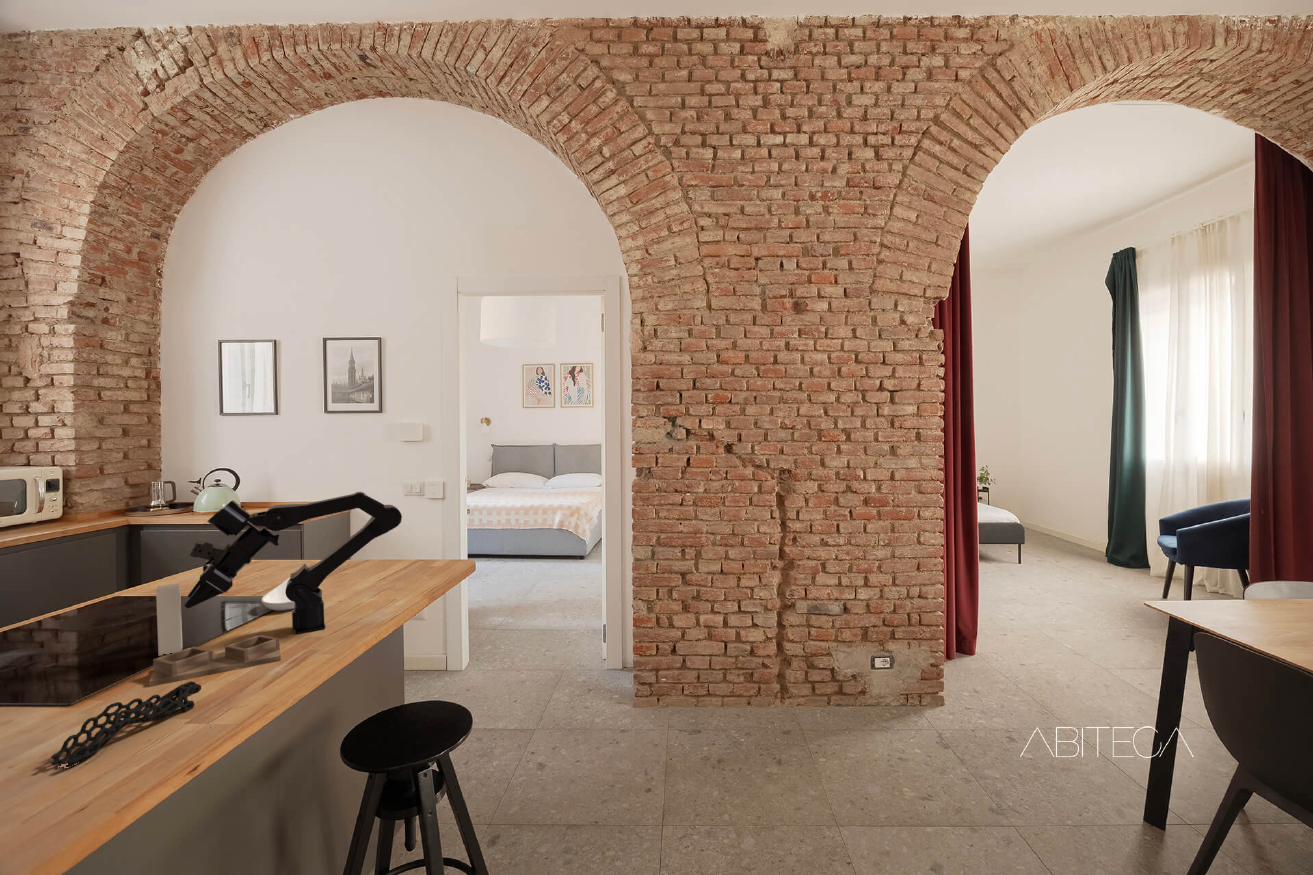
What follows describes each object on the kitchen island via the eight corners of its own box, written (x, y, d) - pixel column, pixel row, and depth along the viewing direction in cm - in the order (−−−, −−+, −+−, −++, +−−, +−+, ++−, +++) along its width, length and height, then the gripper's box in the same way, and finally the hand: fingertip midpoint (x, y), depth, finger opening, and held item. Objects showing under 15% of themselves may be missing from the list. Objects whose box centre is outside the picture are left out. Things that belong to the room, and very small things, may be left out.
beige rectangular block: (182, 647, 139) (180, 583, 139) (181, 651, 137) (178, 586, 137) (160, 651, 137) (157, 586, 137) (158, 655, 135) (156, 589, 134)
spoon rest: (303, 613, 165) (302, 587, 165) (254, 617, 162) (253, 590, 162) (327, 589, 188) (326, 566, 188) (285, 592, 185) (284, 569, 185)
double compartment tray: (278, 646, 140) (278, 631, 139) (280, 660, 131) (280, 644, 131) (156, 669, 127) (155, 652, 127) (149, 686, 119) (149, 668, 119)
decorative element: (73, 773, 90) (72, 734, 90) (45, 770, 90) (44, 732, 90) (208, 703, 112) (207, 672, 112) (184, 702, 113) (183, 670, 112)
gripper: (216, 522, 149) (160, 573, 143) (212, 533, 134) (149, 590, 128) (255, 549, 154) (202, 600, 148) (256, 563, 138) (197, 620, 132)
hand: (187, 602), depth 139 cm, fingers open, 9 cm apart
